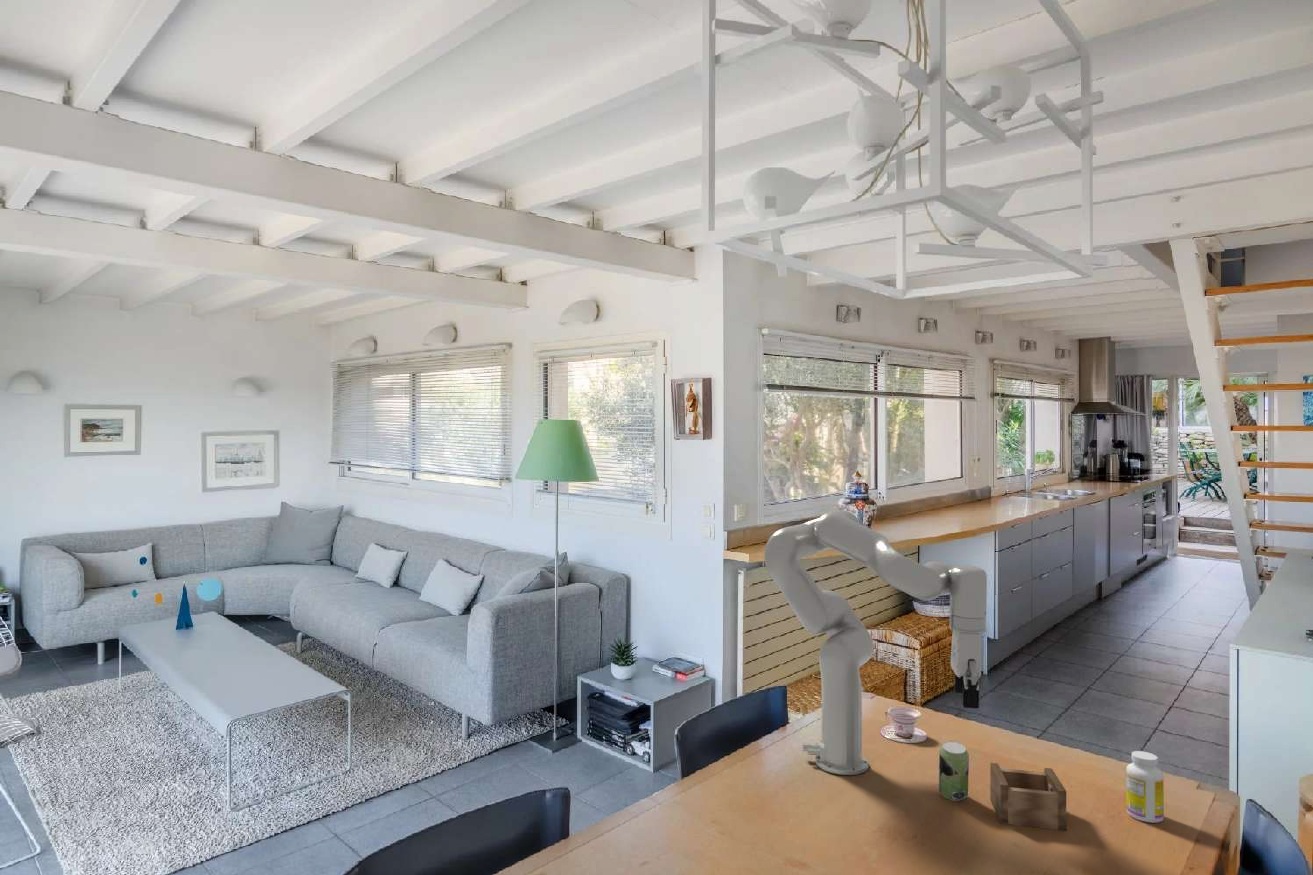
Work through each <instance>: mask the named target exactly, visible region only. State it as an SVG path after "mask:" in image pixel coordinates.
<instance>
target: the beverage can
mask: <svg viewBox="0 0 1313 875" xmlns="http://www.w3.org/2000/svg"><path fill="white" fill-rule="evenodd" d="M938 755H939V757H938V758H939V760H938V761H939V762H938V763H939V765H938V792H939V793H940V795H941V796H943V797H944V798H946V799H947V800H949V801H952V802H960V801H961V802H962V801H964V800H965V799H967V797H969V773H970V772H969V770H970V769H969V764H970V762H969V761H970V755H969V752H968V750H967V747H966V746H965V745H964V744H962V743H961V742H958V741H952V740H948V741H945V742H943V743H942V746H941V747H940V749H939V753H938Z"/></svg>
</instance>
